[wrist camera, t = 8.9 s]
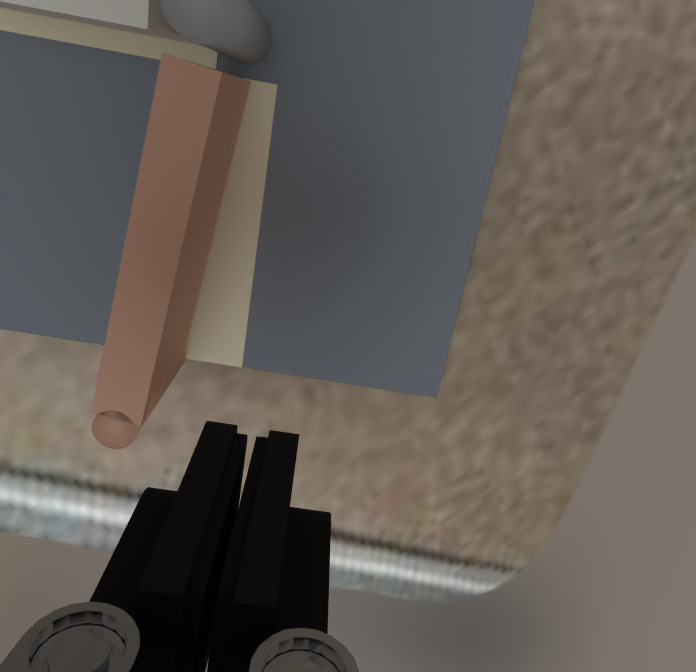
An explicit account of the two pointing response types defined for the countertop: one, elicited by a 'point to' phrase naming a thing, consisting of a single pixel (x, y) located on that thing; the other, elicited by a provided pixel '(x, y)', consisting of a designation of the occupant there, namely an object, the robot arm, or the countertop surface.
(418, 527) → the countertop surface
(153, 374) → the fence panel
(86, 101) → the board
